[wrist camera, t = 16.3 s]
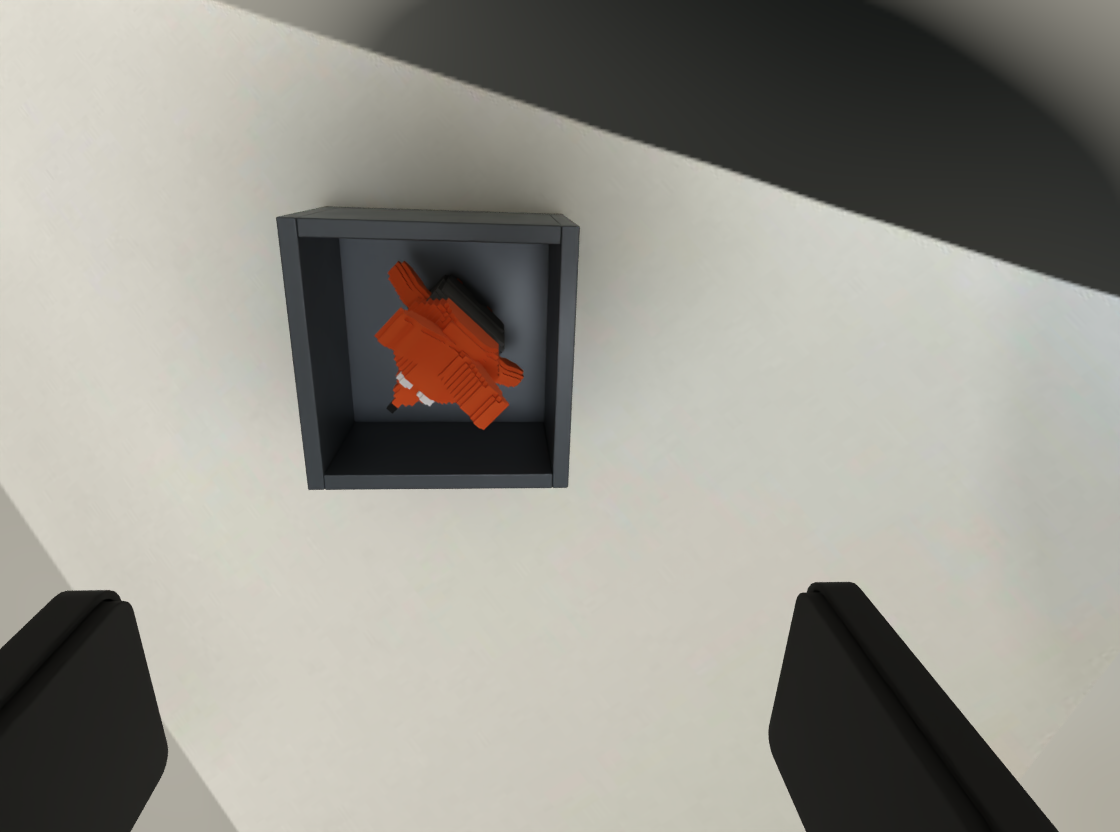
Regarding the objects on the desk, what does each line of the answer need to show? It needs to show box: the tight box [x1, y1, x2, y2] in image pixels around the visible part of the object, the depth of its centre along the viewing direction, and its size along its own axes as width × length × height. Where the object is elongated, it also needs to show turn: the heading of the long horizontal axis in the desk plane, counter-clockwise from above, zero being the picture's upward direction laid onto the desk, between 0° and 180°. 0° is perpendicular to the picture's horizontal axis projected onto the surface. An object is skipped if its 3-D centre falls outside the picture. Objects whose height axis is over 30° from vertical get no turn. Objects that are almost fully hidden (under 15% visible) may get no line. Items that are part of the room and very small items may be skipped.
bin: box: [276, 207, 580, 490], centre depth 33 cm, size 13×13×8 cm
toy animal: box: [375, 261, 524, 430], centre depth 30 cm, size 8×6×12 cm
